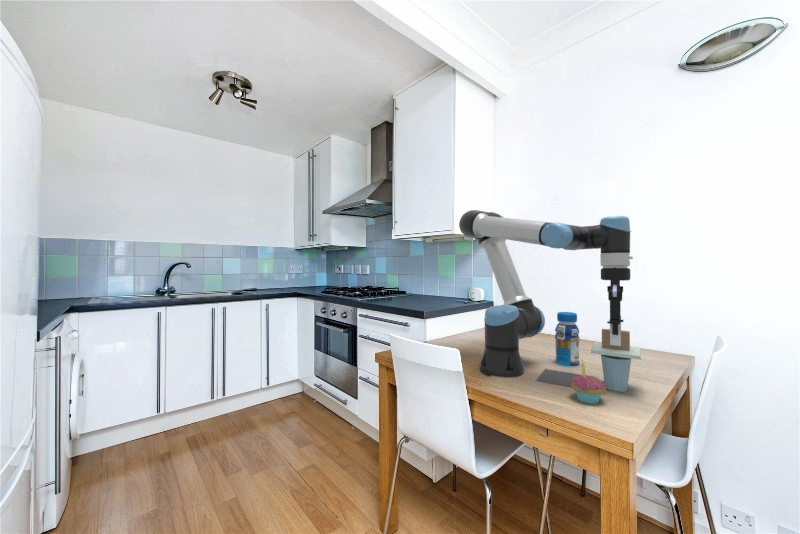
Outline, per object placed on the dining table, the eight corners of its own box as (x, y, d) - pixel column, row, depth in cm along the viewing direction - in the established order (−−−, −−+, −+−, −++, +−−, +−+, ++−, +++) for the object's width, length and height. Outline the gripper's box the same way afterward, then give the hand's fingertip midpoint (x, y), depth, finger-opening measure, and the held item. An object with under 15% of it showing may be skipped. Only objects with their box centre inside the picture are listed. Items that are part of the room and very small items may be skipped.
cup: (637, 392, 95) (637, 357, 95) (621, 396, 92) (620, 360, 92) (611, 384, 102) (611, 351, 102) (595, 387, 99) (595, 354, 99)
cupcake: (591, 410, 83) (591, 364, 83) (563, 398, 91) (563, 356, 91) (612, 404, 87) (612, 360, 87) (583, 393, 94) (583, 353, 95)
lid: (590, 353, 96) (590, 331, 96) (594, 345, 106) (594, 325, 106) (640, 359, 89) (640, 336, 89) (639, 350, 99) (639, 329, 99)
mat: (535, 382, 104) (535, 380, 104) (545, 370, 116) (545, 368, 116) (588, 393, 95) (588, 391, 95) (593, 378, 107) (593, 376, 107)
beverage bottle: (552, 361, 127) (552, 311, 127) (575, 362, 125) (575, 311, 125) (558, 367, 119) (558, 314, 119) (583, 369, 117) (583, 314, 117)
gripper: (630, 267, 89) (630, 351, 89) (630, 267, 101) (630, 341, 101) (598, 267, 93) (599, 347, 93) (602, 267, 106) (602, 338, 106)
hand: (615, 344), depth 97 cm, fingers closed on lid, 2 cm apart
